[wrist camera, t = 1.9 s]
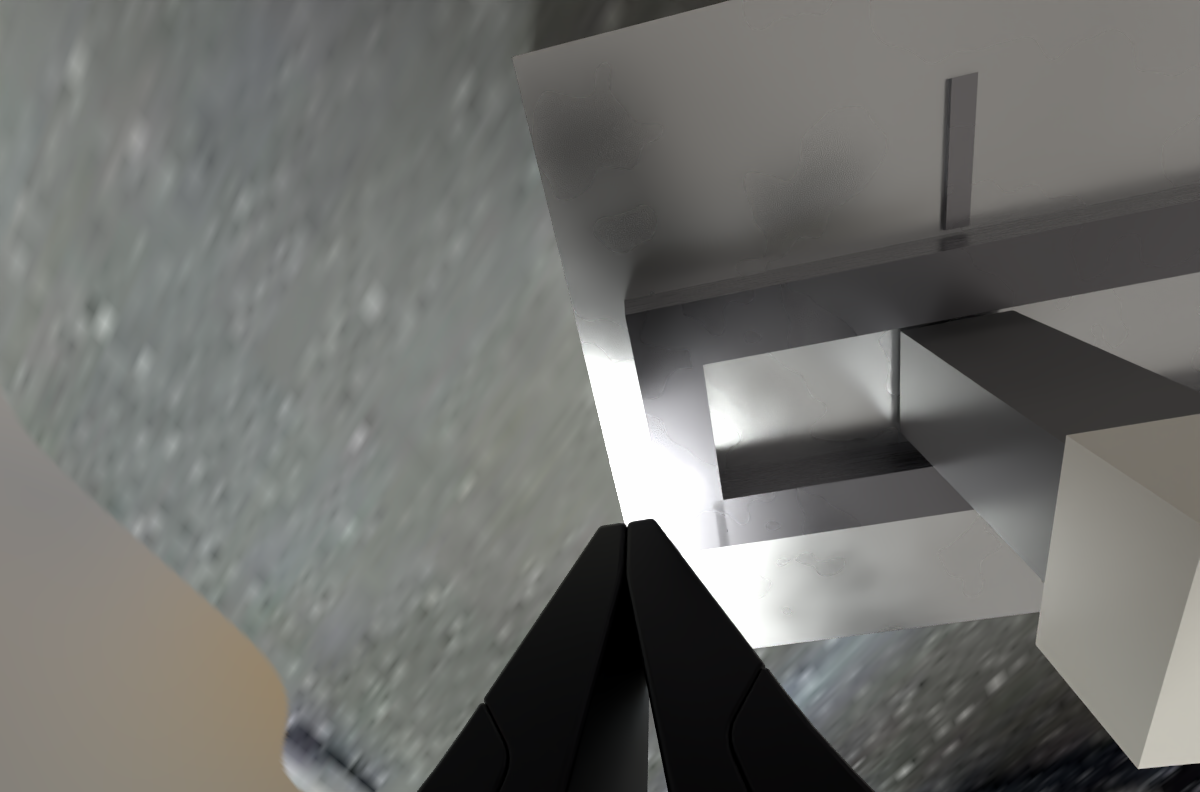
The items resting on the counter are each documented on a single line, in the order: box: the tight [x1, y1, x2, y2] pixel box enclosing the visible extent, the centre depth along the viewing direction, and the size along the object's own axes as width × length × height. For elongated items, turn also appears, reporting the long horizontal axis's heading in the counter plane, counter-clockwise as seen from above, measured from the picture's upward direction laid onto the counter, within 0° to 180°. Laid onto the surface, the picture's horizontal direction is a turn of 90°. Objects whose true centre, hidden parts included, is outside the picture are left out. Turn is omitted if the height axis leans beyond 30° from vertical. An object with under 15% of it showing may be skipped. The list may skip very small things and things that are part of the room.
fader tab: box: [900, 310, 1200, 769], centre depth 8 cm, size 3×3×6 cm
